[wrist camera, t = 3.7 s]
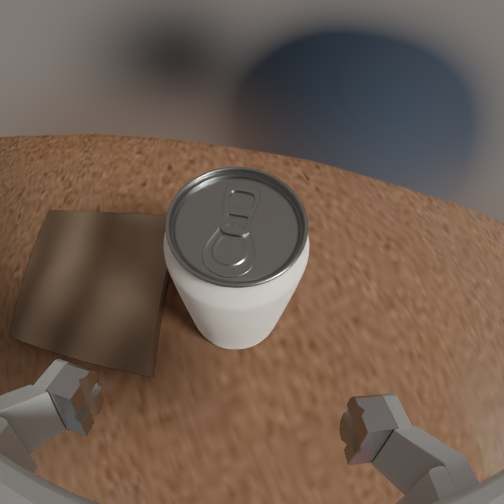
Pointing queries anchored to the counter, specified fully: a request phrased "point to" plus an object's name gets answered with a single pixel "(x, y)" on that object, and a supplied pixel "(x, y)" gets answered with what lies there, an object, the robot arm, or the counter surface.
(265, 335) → the can
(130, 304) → the walnut board
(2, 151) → the counter surface
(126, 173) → the counter surface
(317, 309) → the counter surface
